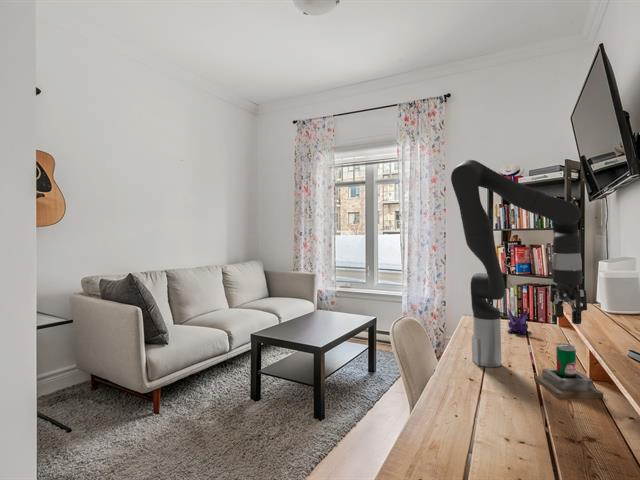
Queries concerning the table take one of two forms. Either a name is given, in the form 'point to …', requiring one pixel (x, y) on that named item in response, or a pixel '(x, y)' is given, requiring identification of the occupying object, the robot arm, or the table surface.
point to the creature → (517, 323)
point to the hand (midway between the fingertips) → (567, 320)
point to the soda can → (566, 361)
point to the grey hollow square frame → (567, 385)
